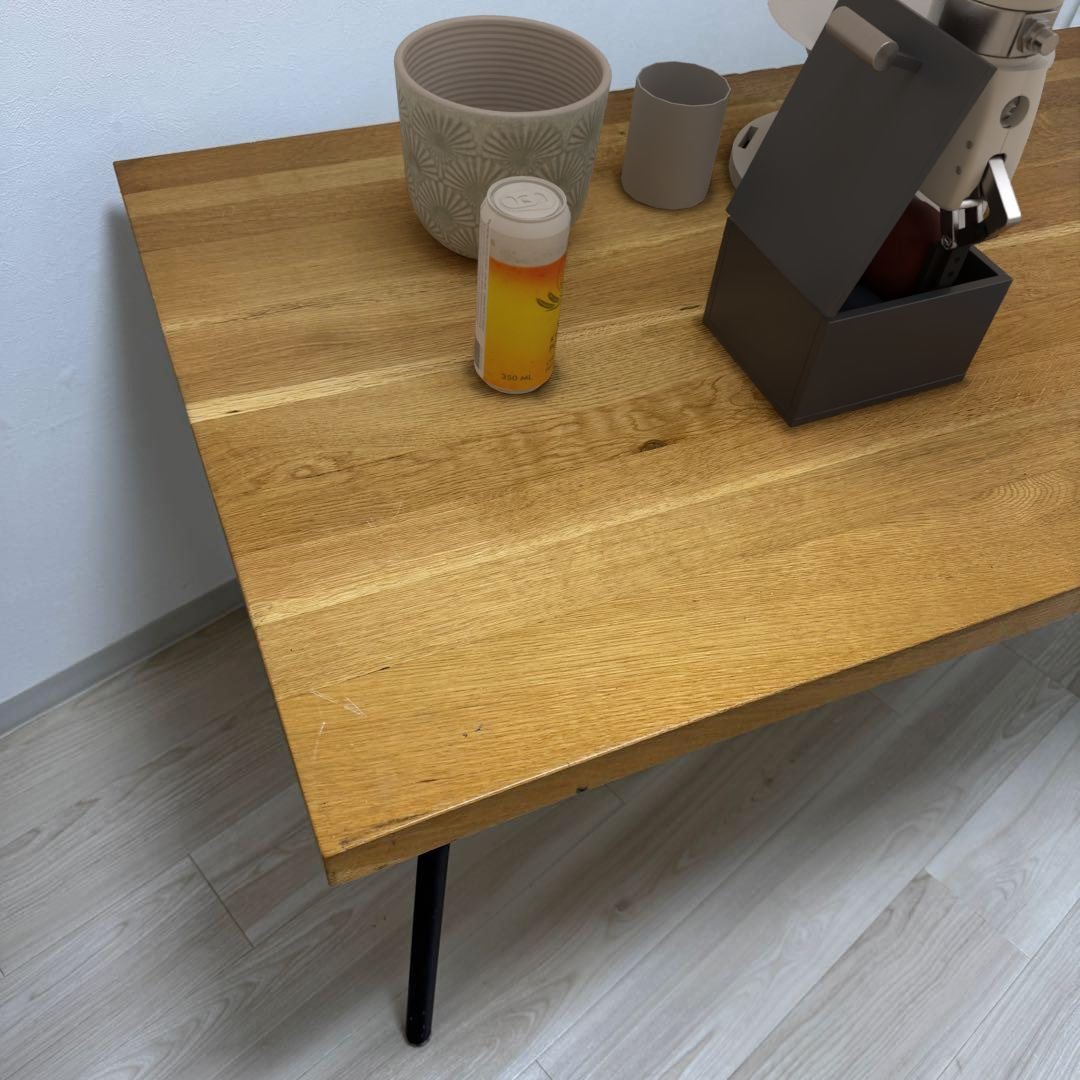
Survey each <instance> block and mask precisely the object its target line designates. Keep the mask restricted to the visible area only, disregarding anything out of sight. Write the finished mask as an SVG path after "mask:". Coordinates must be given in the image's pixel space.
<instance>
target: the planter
mask: <svg viewBox="0 0 1080 1080" xmlns="http://www.w3.org/2000/svg"><path fill="white" fill-rule="evenodd" d="M393 68H394V79H395V88H396V99H397V108H398V118H399V119H398V120H399V130H400V138H401V139H400V140H401V149H402V159H403V160H402V161H403V169H404V176H405V183H406V188H407V193H408V197H409V200H410V202H411V205H412V207H413V209H414V212H415V214H416V216H417V218H418V220H419V221H420V224H421V225H422V226H423V228H424V229H425V230H426V231H427V232H428V233H429V235H430V236H432V237H433V238H434V239H435V240H436V241H437V242H438V243H439V244H440V245H442V246H443V247H445V248H447V249H448V250H450V251H452V252H454V253H455V254H457V255H460V256H463V257H466V258H469V259H473V260H477V261H478V251H479V226H480V207H481V204H482V203H483V201H484V199H485V198H486V196H487V192H488V190H489V188H490V187H491V186H492V185H493V184H494V183H496V182H497V181H499V180H502V179H505V178H509V177H516V176H528V177H535V178H540V179H543V180H546V181H549V182H551V183H553V184H555V185H556V186H558V187H559V188H560V189H561V190H562V191H563V192H564V194H565V196H566V200H567V205H568V208H569V210H570V213H571V221H570V229H569V233H570V232H571V230H572V229H573V228H574V226H575V225H576V223H577V221H578V219H579V218H580V216H581V213H582V211H583V209H584V207H585V204H586V201H587V198H588V194H589V191H590V186H591V181H592V178H593V177H592V176H593V173H594V172H593V171H594V167H595V161H596V158H597V153H598V149H599V148H598V147H599V141H600V137H601V133H602V129H603V128H602V127H603V124H604V120H605V119H604V118H605V113H606V108H607V105H608V104H607V103H608V99H609V95H610V90H611V84H612V79H613V73H612V72H613V71H612V68H611V64H610V63H609V60H608V58H607V57H606V56H605V54H604V53H603V52H602V51H601V50H600V49H599V48H598V47H597V46H596V45H595V44H593V43H592V42H590V41H589V40H587V39H586V38H584V37H582V36H581V35H579V34H577V33H575V32H573V31H571V30H568V29H566V28H563V27H560V26H557V25H555V24H551V23H548V22H545V21H540V20H537V19H532V18H525V17H521V16H511V15H496V14H478V15H476V14H475V15H463V16H456V17H451V18H445V19H442V20H439V21H435V22H432V23H428V24H426V25H424V26H422V27H421V26H420V27H419V28H417V29H416V30H414V31H412V32H411V33H409V34H407V36H406V37H404V38H403V39H402V41H401V42H400V43H399V44H398V46H397V48H396V50H395V52H394V56H393Z"/></svg>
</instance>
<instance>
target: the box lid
mask: <svg viewBox="0 0 1080 1080" xmlns="http://www.w3.org/2000/svg"><path fill="white" fill-rule="evenodd" d="M800 68H801V69H800V70H799V73H798V74H797V76H796V78H795V80H794V81H793V84H792V85H791V87H790V89H789V90H788V93H787V95H786V96H785V98H784V100H783V102H782V104H781V106H780V108H779V109H778V110H777V111H778V113H777V115H776V117H775V119H774V120H773V122H772V124H771V126H770V128H769V130H768V132H767V134H766V135H765V137H764V139H763V141H762V143H761V145H760V147H759V148H758V150H757V152H756V154H755V156H754V158H753V160H752V161H751V163H750V165H749V167H748V169H747V171H746V173H745V174H744V176H743V178H742V180H741V182H740V184H739V186H738V188H737V189H735V191H734V193H733V195H732V197H731V199H730V200H729V202H728V205H727V206H726V207H725V212H726V213H727V214H728V215H729V216H731V217H732V218H733V219H734V220H735V221H736V222H737V223H738V224H739V225H740V226H741V227H742V228H743V229H744V231H745V232H746V233H747V234H748V235H749V236H750V237H751V238H752V239H753V240H754V241H755V242H756V243H757V244H758V245H759V246H760V247H761V248H762V249H763V251H764V252H765V253H766V254H767V255H768V256H769V257H770V258H771V259H772V260H773V261H774V262H775V263H776V264H777V265H778V266H779V267H780V268H781V269H782V270H783V272H784V273H785V274H786V275H787V276H788V277H789V278H790V279H791V280H792V281H793V282H794V283H795V284H796V285H797V286H798V287H799V288H800V289H801V290H802V292H803V293H804V294H805V295H806V296H807V297H808V298H809V299H810V300H811V301H812V302H813V303H814V304H815V305H816V306H817V307H818V308H819V309H820V310H821V312H822V313H823V314H824V315H825V316H826V317H832V318H834V317H835V316H836V314H837V313H838V311H839V310H840V308H841V307H842V305H843V303H844V302H845V300H846V299H847V297H848V296H849V294H850V293H851V291H852V290H853V288H854V287H855V285H856V284H857V282H858V281H859V279H860V278H861V276H862V275H863V273H864V272H865V270H866V268H867V267H868V265H869V264H870V262H871V261H872V259H873V258H874V256H875V255H876V253H877V252H878V250H879V249H880V247H881V246H882V244H883V243H884V241H885V240H886V238H887V237H888V235H889V233H890V232H891V230H892V229H893V227H894V226H895V224H896V223H897V221H898V220H899V218H900V217H901V215H902V214H903V212H904V211H905V209H906V208H907V206H908V205H909V203H910V202H911V200H912V199H913V197H914V195H915V194H916V192H917V191H918V189H919V188H920V186H921V185H922V183H923V182H924V180H925V179H926V177H927V176H928V174H929V173H930V171H931V170H932V168H933V167H934V165H935V164H936V162H937V160H938V159H939V157H940V156H941V154H942V153H943V151H944V150H945V148H946V147H947V145H948V144H949V142H950V141H951V139H952V138H953V136H954V135H955V133H956V132H957V130H958V129H959V127H960V125H961V124H962V122H963V121H964V119H965V118H966V116H967V115H968V113H969V112H970V110H971V109H972V107H973V106H974V104H975V103H976V101H977V100H978V98H979V97H980V95H981V94H982V92H983V90H984V89H985V87H986V86H987V84H988V83H989V81H990V80H991V78H992V77H993V75H994V74H995V72H996V71H997V67H996V66H994V65H993V64H991V63H990V62H988V61H987V60H985V59H984V58H982V57H981V56H980V55H978V54H977V53H975V52H974V51H972V50H971V49H969V48H968V47H967V46H965V45H964V44H962V43H961V42H959V41H958V40H956V39H955V38H954V37H952V36H951V35H949V34H948V33H946V32H945V31H943V30H942V29H940V28H939V27H938V26H936V25H935V24H933V23H932V22H930V21H929V20H927V19H926V18H925V17H923V16H922V15H920V14H919V13H917V12H916V11H914V10H913V9H912V8H910V7H909V6H907V5H906V4H904V3H903V2H901V1H900V0H838V1H837V3H836V5H835V7H834V9H833V11H832V12H831V14H830V16H829V18H828V20H827V22H826V24H825V26H824V27H823V29H822V31H821V33H820V35H819V37H818V39H817V40H816V42H815V44H814V46H813V48H812V50H811V52H810V53H809V55H808V54H807V57H806V59H805V61H804V62H803V65H802V67H800Z"/></svg>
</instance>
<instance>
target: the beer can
mask: <svg viewBox="0 0 1080 1080" xmlns="http://www.w3.org/2000/svg"><path fill="white" fill-rule="evenodd" d="M570 221H571V213H570V210H569V208H568V205H567V200H566V196H565V194H564V192H563V191H562V190H561V189H560V188H559V187H558V186H556V185H555V184H553V183H551V182H549V181H546V180H543V179H540V178H535V177H528V176H516V177H509V178H505V179H502V180H499V181H497V182H496V183H494V184H493V185H492V186H491V187H490V188H489V190H488V192H487V196H486V198H485V199H484V201H483V203H482V204H481V207H480V226H479V251H478V260H477V277H476V278H477V282H476V301H475V302H476V303H475V328H474V329H475V330H474V331H475V332H474V354H473V356H474V357H473V366H474V369H475V371H476V373H477V375H478V377H480V378H481V379H482V381H484V382H485V384H486V385H487V386H488V387H490V388H491V389H493V390H495V391H498V392H501V393H504V394H510V395H521V394H527V393H530V392H533V391H535V390H536V389H538V388H539V387H541V386H542V385H543V384H545V383H546V382H547V381H548V380H549V379H550V378H551V376H552V375H553V371H554V368H555V367H554V366H555V357H556V349H557V341H558V333H559V332H558V331H559V323H560V316H561V315H560V314H561V306H562V298H563V297H562V296H563V289H564V280H565V271H566V264H567V263H566V262H567V256H568V255H567V253H568V246H569V239H570V238H569V236H570V232H569V229H570Z"/></svg>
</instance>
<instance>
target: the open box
mask: <svg viewBox="0 0 1080 1080" xmlns="http://www.w3.org/2000/svg"><path fill="white" fill-rule="evenodd" d="M913 198H915V199H918V200H921V199H919V198H918V197H917V196H916V195H914V197H913ZM1013 281H1014V278H1013V277H1011V276H1010V274H1008V273H1007V272H1006V271H1005V270H1004V269H1002V268H1001V267H1000V266H999V265H998V264H996V262H994V261H993V260H992V259H991V258H990V257H989V256H987V255H986V254H985V253H984V252H982V250H980V249H979V248H978V247H977V246H975V244H974V245H971V247H970V249H969V251H968V253H967V256H966V258H965V260H964V262H963V264H962V267H961V269H960V271H959V273H958V275H957V278H956V279H955V281H954V282H953V284H952V285H951V286H949V287H945V288H941V289H937V290H933V291H928V292H924V293H920V292H918V293H916V294H914V295H911V296H909V297H905V298H900V299H887V298H883V297H880V296H877V295H876V294H874V293H873V292H871V291H870V290H869V289H868V288H867V287H866V286H865V285H864V284H863V282H862V281H861V280H860V279H859V281H858V282H857V284H856V285H855V287H854V288H853V290H852V291H851V293H850V294H849V296H848V297H847V299H846V300H845V302H844V303H843V305H842V307H841V308H840V310H839V311H838V313H837V314H836V316H835V317H834V318H832V317H826V316H825V315H824V314H823V313H822V312H821V310H820V309H819V308H818V307H817V306H816V305H815V304H814V303H813V302H812V301H811V300H810V299H809V298H808V297H807V296H806V295H805V294H804V293H803V292H802V290H801V289H800V288H799V287H798V286H797V285H796V284H795V283H794V282H793V281H792V280H791V279H790V278H789V277H788V276H787V275H786V274H785V273H784V272H783V270H782V269H781V268H780V267H779V266H778V265H777V264H776V263H775V262H774V261H773V260H772V259H771V258H770V257H769V256H768V255H767V254H766V253H765V252H764V251H763V249H762V248H761V247H760V246H759V245H758V244H757V243H756V242H755V241H754V240H753V239H752V238H751V237H750V236H749V235H748V234H747V233H746V232H745V231H744V229H743V228H742V227H741V226H740V225H739V224H738V223H737V222H736V221H735V220H734V219H733V218H732V217H731V216H730V215H729V216H728V215H727V217H726V221H725V225H724V229H723V234H722V237H721V242H720V245H719V250H718V253H717V258H716V262H715V266H714V270H713V273H712V278H711V282H710V286H709V291H708V294H707V299H706V302H705V306H704V312H703V315H702V319H701V322H702V323H703V324H704V325H705V326H706V328H707V329H708V331H710V332H711V334H712V335H713V336H714V337H715V338H716V340H717V341H718V342H719V343H720V344H721V346H722V347H723V348H724V349H725V350H726V352H727V353H728V355H730V357H731V358H732V359H733V361H735V363H736V364H737V365H738V366H739V368H741V370H742V371H743V372H744V373H745V374H746V376H747V377H748V378H749V379H750V381H751V382H752V383H753V384H754V386H756V388H757V389H758V390H759V392H761V394H762V395H763V397H764V398H765V399H766V400H767V401H768V403H770V405H771V406H772V407H773V409H774V410H776V412H777V413H778V414H779V415H780V417H781V418H782V420H784V422H785V423H786V424H787V425H788V426H789V428H795V427H799V426H802V425H806V424H810V423H812V422H813V423H814V422H816V421H821V420H824V419H829V418H831V417H835V416H840V415H842V414H845V413H849V412H853V411H857V410H860V409H865V408H867V407H872V406H876V405H879V404H883V403H887V402H890V401H893V400H897V399H902V398H905V397H907V396H912V395H916V394H920V393H923V392H926V391H931V390H934V389H938V388H941V387H945V386H949V385H953V384H956V383H959V382H960V383H961V382H963V380H964V378H965V377H966V373H967V372H968V370H969V367H970V366H971V364H972V362H973V360H974V358H975V356H976V354H977V353H978V350H979V348H980V346H981V344H982V342H983V340H984V338H985V337H986V335H987V332H988V331H989V328H990V327H991V325H992V323H993V321H994V319H995V316H996V315H997V313H998V312H999V309H1000V307H1001V305H1002V303H1003V301H1004V299H1005V297H1006V295H1007V293H1008V291H1009V289H1010V287H1011V285H1012V283H1013Z"/></svg>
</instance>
